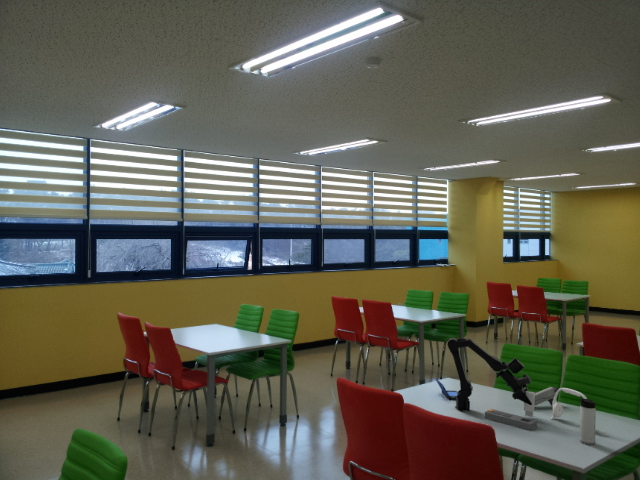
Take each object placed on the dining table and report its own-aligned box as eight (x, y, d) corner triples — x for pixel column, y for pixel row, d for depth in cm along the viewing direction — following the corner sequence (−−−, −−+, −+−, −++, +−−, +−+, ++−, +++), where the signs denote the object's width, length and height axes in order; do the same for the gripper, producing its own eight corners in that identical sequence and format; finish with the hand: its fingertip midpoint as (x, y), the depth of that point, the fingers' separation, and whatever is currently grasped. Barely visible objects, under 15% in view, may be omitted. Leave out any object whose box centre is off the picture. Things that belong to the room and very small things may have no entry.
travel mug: (576, 440, 231) (576, 397, 231) (589, 439, 231) (590, 397, 232) (584, 445, 224) (584, 401, 225) (598, 445, 225) (598, 401, 225)
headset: (594, 429, 244) (594, 393, 245) (585, 432, 241) (585, 395, 241) (557, 417, 262) (558, 383, 262) (549, 419, 258) (549, 385, 259)
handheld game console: (464, 400, 289) (464, 384, 289) (442, 400, 289) (442, 384, 289) (456, 392, 305) (456, 377, 305) (434, 392, 304) (434, 377, 304)
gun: (561, 402, 284) (559, 385, 283) (528, 416, 275) (525, 399, 275) (558, 401, 287) (555, 384, 286) (524, 415, 278) (521, 398, 277)
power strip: (484, 417, 259) (484, 410, 259) (491, 414, 265) (491, 407, 265) (530, 430, 242) (530, 423, 242) (536, 426, 248) (536, 419, 248)
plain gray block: (523, 415, 259) (524, 393, 259) (524, 413, 263) (525, 391, 263) (533, 417, 257) (533, 394, 257) (534, 414, 261) (534, 392, 261)
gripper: (519, 374, 254) (542, 399, 248) (523, 366, 270) (545, 390, 265) (503, 387, 257) (525, 412, 252) (508, 378, 274) (529, 402, 268)
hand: (532, 403), depth 259 cm, fingers closed on plain gray block, 4 cm apart
